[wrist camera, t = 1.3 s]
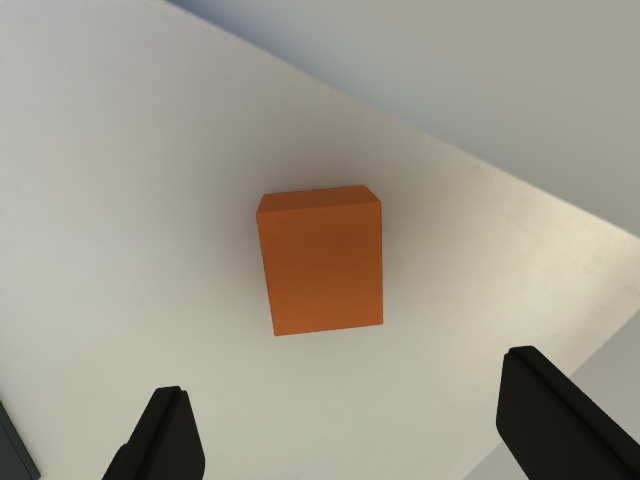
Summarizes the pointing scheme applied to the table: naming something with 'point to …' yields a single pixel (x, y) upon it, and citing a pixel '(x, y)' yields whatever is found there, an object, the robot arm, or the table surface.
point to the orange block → (322, 259)
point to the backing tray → (14, 454)
